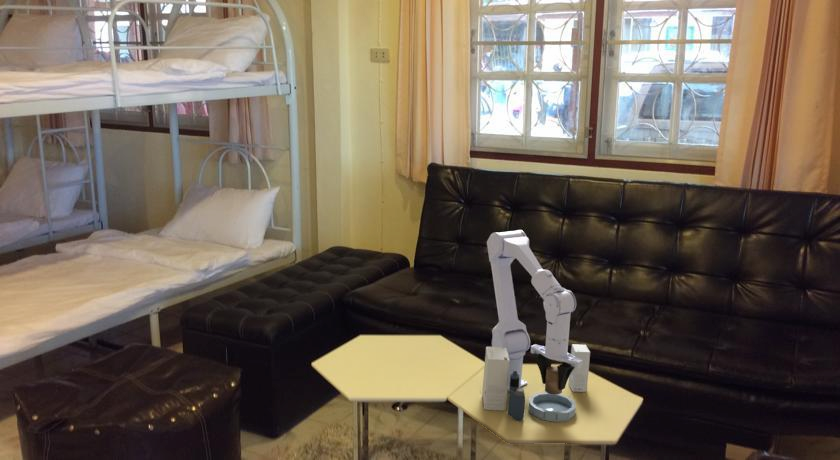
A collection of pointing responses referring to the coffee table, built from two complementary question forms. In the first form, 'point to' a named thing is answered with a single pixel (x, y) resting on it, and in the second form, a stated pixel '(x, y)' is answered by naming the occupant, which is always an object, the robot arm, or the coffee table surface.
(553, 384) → the brown cylinder
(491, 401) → the skincare box
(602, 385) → the coffee table surface
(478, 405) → the coffee table surface
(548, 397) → the round tray
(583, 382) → the skincare box
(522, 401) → the vaping device
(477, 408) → the coffee table surface
